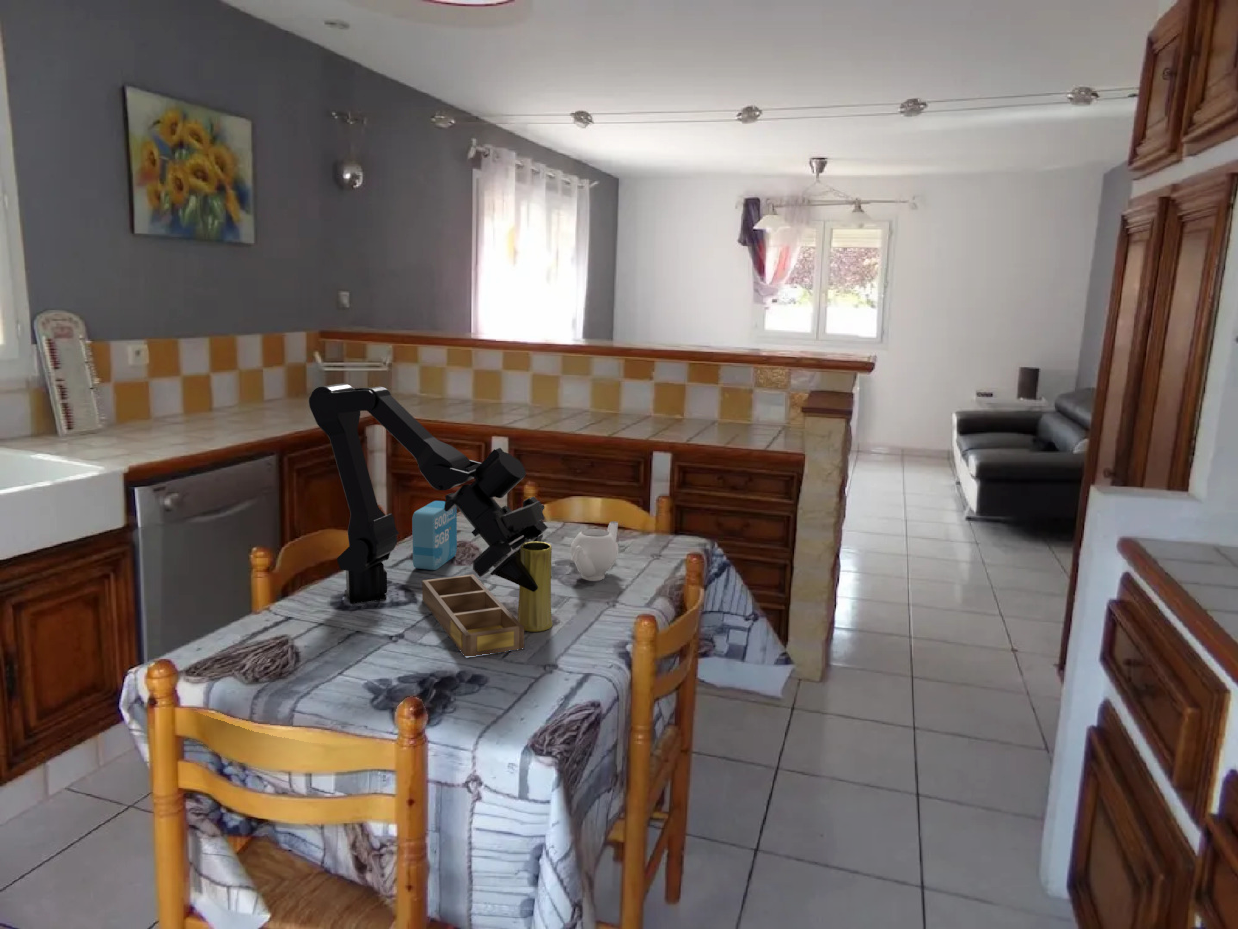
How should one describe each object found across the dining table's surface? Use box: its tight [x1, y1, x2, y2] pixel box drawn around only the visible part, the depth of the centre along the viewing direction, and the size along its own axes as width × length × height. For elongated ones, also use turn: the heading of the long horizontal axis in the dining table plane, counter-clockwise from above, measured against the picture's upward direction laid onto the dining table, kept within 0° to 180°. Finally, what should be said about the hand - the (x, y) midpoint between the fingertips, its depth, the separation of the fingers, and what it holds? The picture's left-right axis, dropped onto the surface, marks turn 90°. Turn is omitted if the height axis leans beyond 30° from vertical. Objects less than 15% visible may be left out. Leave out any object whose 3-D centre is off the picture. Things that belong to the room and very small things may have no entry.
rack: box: [421, 573, 525, 657], centre depth 148 cm, size 10×27×4 cm, turn 27°
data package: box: [411, 500, 458, 571], centre depth 178 cm, size 12×4×12 cm, turn 167°
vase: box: [517, 541, 554, 633], centre depth 147 cm, size 6×6×14 cm
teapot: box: [570, 521, 620, 582], centre depth 173 cm, size 10×20×9 cm, turn 156°
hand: (543, 584), depth 147 cm, fingers closed on vase, 5 cm apart
